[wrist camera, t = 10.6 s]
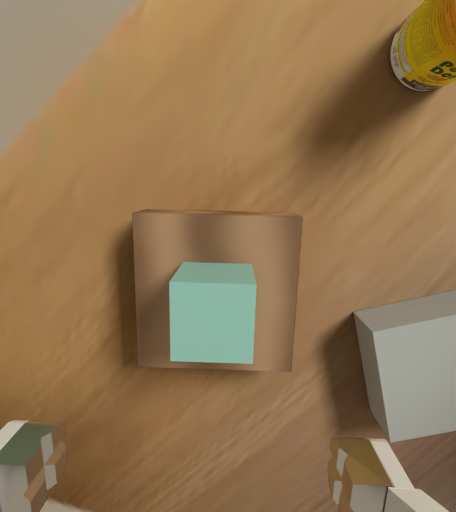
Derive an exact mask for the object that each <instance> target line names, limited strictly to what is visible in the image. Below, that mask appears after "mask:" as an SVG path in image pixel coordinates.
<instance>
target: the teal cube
mask: <svg viewBox="0 0 456 512" xmlns="http://www.w3.org/2000/svg"><path fill="white" fill-rule="evenodd" d="M256 285H257V284H256V280H255V276H254V271H253V267H252V264H234V263H199V262H183V263H182V264H181V266H180V267H179V269H178V270H177V271H176V273H175V274H174V276H173V277H172V279H171V280H170V282H169V297H170V361H182V362H212V363H243V364H253V352H254V329H255V307H256Z"/></svg>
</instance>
